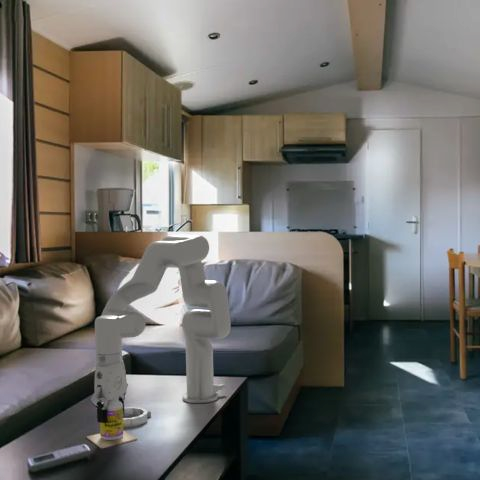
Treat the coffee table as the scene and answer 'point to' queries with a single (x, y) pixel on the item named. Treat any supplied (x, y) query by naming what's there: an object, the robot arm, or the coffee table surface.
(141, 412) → the collar
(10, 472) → the coffee table surface
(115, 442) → the mat
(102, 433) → the supplement bottle
